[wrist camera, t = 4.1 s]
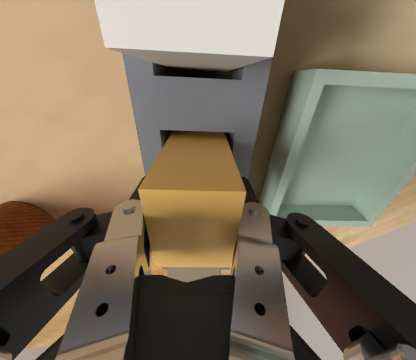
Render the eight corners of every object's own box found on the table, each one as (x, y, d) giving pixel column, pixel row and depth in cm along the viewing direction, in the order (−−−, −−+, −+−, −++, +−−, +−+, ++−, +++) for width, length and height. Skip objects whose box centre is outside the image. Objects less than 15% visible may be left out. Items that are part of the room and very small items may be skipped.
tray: (294, 70, 12) (317, 68, 10) (437, 78, 13) (494, 78, 10) (257, 205, 20) (265, 224, 17) (350, 207, 20) (371, 226, 18)
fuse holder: (125, -96, 8) (72, -212, 5) (276, -82, 9) (321, -183, 5) (168, 240, 23) (162, 269, 19) (225, 241, 23) (229, 269, 20)
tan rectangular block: (176, 124, 14) (138, 189, 6) (221, 126, 15) (246, 192, 6) (179, 173, 17) (155, 266, 9) (217, 174, 17) (230, 267, 9)
